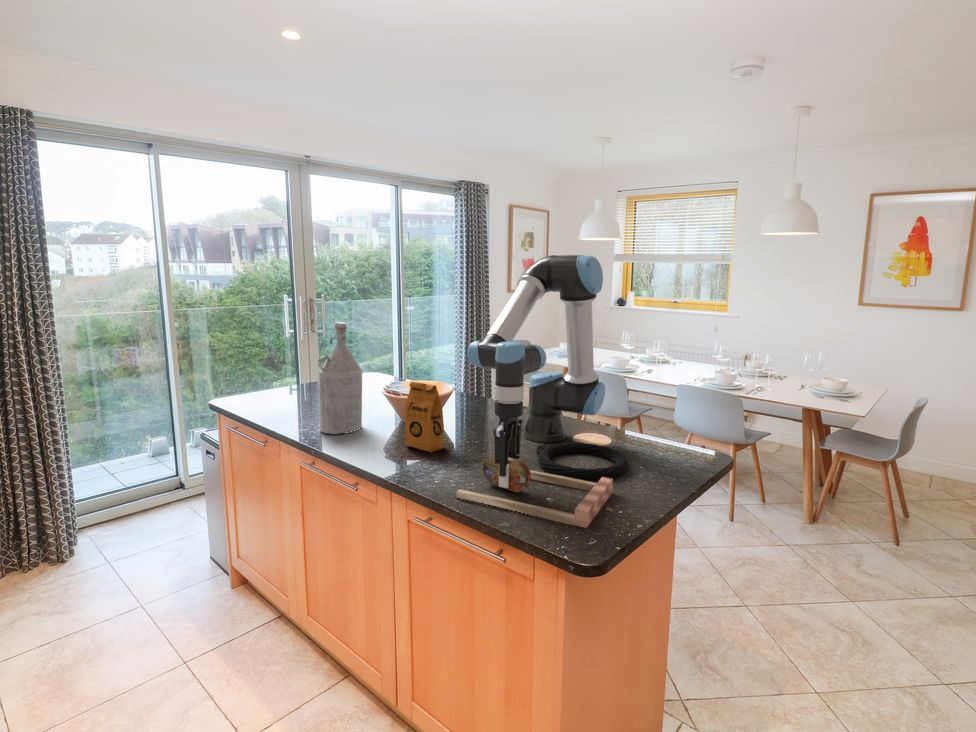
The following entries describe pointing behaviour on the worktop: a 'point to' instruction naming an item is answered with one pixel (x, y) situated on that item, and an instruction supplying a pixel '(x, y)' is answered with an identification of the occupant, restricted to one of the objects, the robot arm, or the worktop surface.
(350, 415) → the grey jug bottle
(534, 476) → the stop channel
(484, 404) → the worktop surface
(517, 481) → the tin
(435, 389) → the coffee package
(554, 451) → the cable lock
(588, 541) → the worktop surface
